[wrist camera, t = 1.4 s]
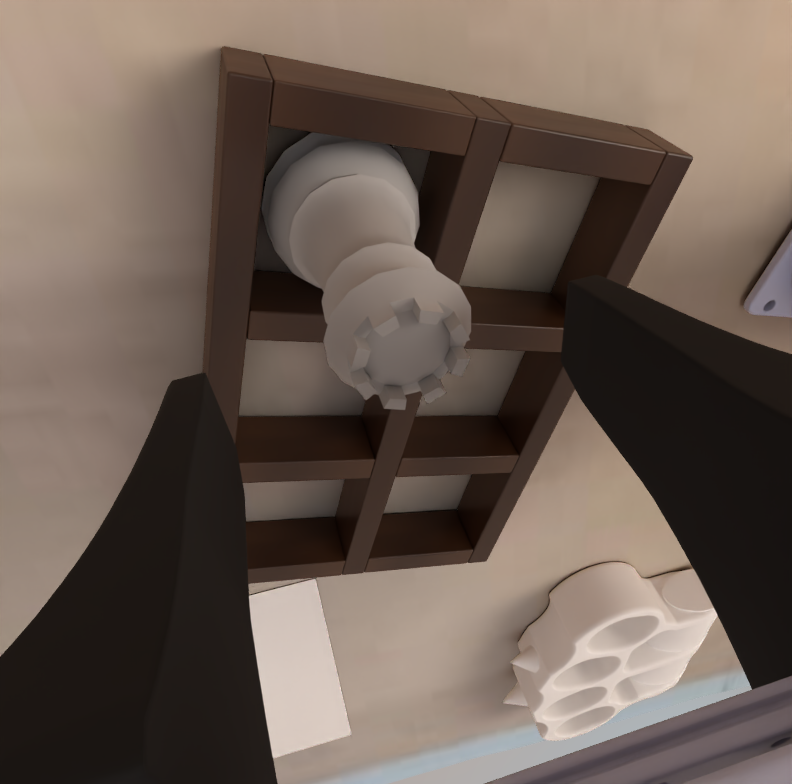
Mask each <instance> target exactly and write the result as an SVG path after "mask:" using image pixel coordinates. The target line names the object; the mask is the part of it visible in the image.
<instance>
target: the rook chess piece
mask: <svg viewBox="0 0 792 784" xmlns="http://www.w3.org/2000/svg"><path fill="white" fill-rule="evenodd" d="M261 209H262V213H263V217H264V222H265V226H266V230H267V234H268V236H269V238H270V239H271V240H272V244H273V248H274V250H275V251H276V252H277V254H278V255H279V256H280V258H281V259H282V260H283V262H284V263H285V264H286V265H287V267H288V268H289V269H290V271H291V272H293V273H294V274H295V275H296V276H298V277H300V278H301V279H303V280H305V281H307V282H309V283H310V284H312V285H314V286H316V287H318V288H322V290H323V292H324V294H323V298H322V306H323V312H324V317H325V322H326V323H327V324H328V326H327V329H326V333H325V337H324V340H323V341H324V346H325V351H326V356H327V361H328V365H329V366H330V367H331V368H332V370H333V371H334V372H335V373H336V374H337V376H338V377H339V378H340V379H341V380H342V382H343V383H345V384H347V385H350V386H352V387H354V388H356V389H357V390H358V391H359V393H360V394H361V395H362V396H363V398H364V399H365V400H367V399H369V398H370V397H371V396H372V395H374V394H376V395H379V397H380V400H381V403H382V405H383V408H384V409H398V410H405V407H406V401H407V399H406V397H405V395H407V394H411V393H415V392H419V391H421V392H422V395H423V397H424V399H425V401H426V403H427V404H429V403H430V402H432V401H434V400H436V399H437V398H439V397H441V396H443V395H444V394H446V391H445V389H444V387H443V385H442V383H441V381H440V380H441V378H442V377H443V376H444V375H445V374H446V373H447V372H448V371H450V373H451V374H453V375H456V376H460V377H462V376H463V374H464V372H465V369H466V367H467V365H468V363H469V361H470V357H469V355H468V354H467V352H466V350H465V348H464V346H465V344H466V342H467V341H469V340H470V338H469V335H470V333H471V306H470V304H469V302H468V300H467V298H466V296H465V295H464V293H463V291H462V289H461V287H460V286H459V285H458V284H456V283H455V282H453V281H452V280H450V279H449V278H447V277H446V276H444V275H443V274H441V273H440V272H438V271H436V269H435V267H434V265H433V263H432V262H431V260H430V258H429V257H427V256H426V255H424V254H423V253H421V252H420V251H418V250H417V249H415V245H414V242H415V239H416V235H417V232H418V229H419V226H420V220H419V204H418V191H417V189H416V187H415V185H414V183H413V181H412V179H411V177H410V175H409V173H408V171H407V169H406V167H405V165H404V163H403V161H402V159H401V157H400V155H399V153H398V152H397V151H395V150H394V149H393V148H391V147H390V146H389V145H388V144H384V143H378V142H371V141H365V140H359V139H352V138H346V137H340V136H333V135H327V134H321V133H314V132H313V133H311V134H309V135H308V136H306V137H305V138H303V139H301V140H300V141H298V142H297V143H295V144H294V145H292V146H291V147H289V148H288V149H286V150H285V151H284V152H283V154H282V155H281V157H280V158H279V160H278V161H277V163H276V164H275V165H274V167H273V168H272V170H271V171H270V173H269V174H268V176H267V178H266V183H265V189H264V194H263V200H262V205H261Z"/></svg>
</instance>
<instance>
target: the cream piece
mask: <svg viewBox="0 0 792 784" xmlns="http://www.w3.org/2000/svg"><path fill="white" fill-rule="evenodd" d="M249 604H250V616H251V624H252V631H253V638H254V645H255V651H256V658H257V665H258V671H259V678H260V684H261V690H262V696H263V703H264V709H265V715H266V721H267V727H268V733H269V738H270V744H271V750H272V756H273V758H276V757H279V756H283V755H286V754H289V753H293V752H296V751H299V750H303V749H306V748H309V747H312V746H316V745H319V744H322V743H326V742H329V741H332V740H336V739H339V738H342V737H345V736H349V735H352V734H351V730H350V725H349V721H348V717H347V712H346V708H345V704H344V700H343V695H342V691H341V687H340V682H339V678H338V674H337V669H336V665H335V661H334V656H333V652H332V648H331V643H330V639H329V635H328V630H327V626H326V622H325V617H324V613H323V609H322V604H321V600H320V596H319V591H318V587H317V583H316V579H312V580H308V581H304V582H300V583H297V584H293V585H289V586H285V587H281V588H277V589H273V590H269V591H265V592H262V593H258V594H254V595H250V596H249Z"/></svg>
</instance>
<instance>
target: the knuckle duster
mask: <svg viewBox="0 0 792 784" xmlns="http://www.w3.org/2000/svg"><path fill="white" fill-rule="evenodd" d="M549 597H550V604H549V606H548V608H547V610H546V611H545V612H544V613H543V615H542V616H541V617H540V618H539V619H537V620H536V621H535V622H534V623H532V624H531V625H529V626H528V627H527V629H526V631H525V632H524V634H523V635H522V637H521V638H520V640H519V641H518V647H519V650H520V652H521V653H520V654H519V655H517V656H516V657H515V658H514V659H513V660H512V661H511V662H510V663H512V664H514V665H513V670H514V673H515V675H516V678H517V680H518V683H517V684H516V685H515V686H514V688H513V689H512V690H511V691H510V693H509V694H508V695H507V696H506V698H505V699H504V700H503V701H502V703H506V704H514V705H521V706H528V707H529V709H530V712H531V714H532V717H533V719H534V721H535V723H536V726H537V728H538V731H539V733H540V735H541V737H542V738H544V739H546V740H550V741H556V740H557V741H558V740H564V739H569V738H573V737H575V736H579V735H582V734H584V733H587V732H589V731H591V730H593V729H595V728H597V727H599V726H601V725H603V724H604V723H606V722H607V721H609V720H610V719H611V718H613V717H614V716H615V715H616V714H617V713H618V712H619V711H620V710H622V709H624V708H626V707H627V706H629V705H631V704H633V703H635V702H637V701H640V700H643V699H647V698H650V697H653V696H656V695H659V694H661V693H662V692H664V691H666V690H668V689H670V688H671V687H673V686H675V685H676V684H677V682H678V681H679V679H680V677H681V676H682V674H683V672H684V671H685V669H686V667H687V666H686V665H687V663H688V662H689V660H690V659H691V657H692V656H693V654H694V653H695V652H697V650H698V648H699V647H700V645H701V643H702V642H703V640H704V638H705V637H706V635H707V633H708V630H709V628H710V627H711V625H712V624H713V622H714V620H715V619H716V617H717V613H716V611H715V609H714V607H713V605H712V603H711V601H710V599H709V597H708V595H707V593H706V591H705V589H704V587H703V585H702V583H701V582H700V580H699V578H698V576H697V574H696V572H695V570H694V569H689V570H684V571H678V572H670V573H666V574H663V575H659V576H655V577H652V578H648V579H645V578H641V577H640V576H639V574H638V573H637V571H636V570H635V569H634V568H633V567H632V566H630V565H629V564H626V563H622V562H608V563H602V564H598V565H595V566H591V567H589V568H586V569H584V570H581V571H579V572H577V573H575V574H573V575H572V576H570V577H568V578H567V579H565V580H564V581H563V582H561V583H560V584H559V585H558V586H556V587H555V588H554V589H553V590H552V591H551V592H550V594H549Z"/></svg>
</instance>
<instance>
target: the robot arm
mask: <svg viewBox="0 0 792 784" xmlns="http://www.w3.org/2000/svg"><path fill="white" fill-rule="evenodd" d="M744 309H745V310H746V311H747V312H748V313H750V314H752V315H763V316H777V317H790V318H792V229H791V231H790V232H789V234H788V235H787V237H786V238H785V240H784V241H783V243H782V245H781V246H780V248H779V249H778V251H777V252H776V254H775V255H774V257H773V258H772V260H771V261H770V263H769V265H768V266H767V268H766V269H765V271H764V272H763V274H762V275H761V277H760V278H759V280H758V281H757V283H756V284H755V286H754V288H753V289H752V291H751V292H750V294H749V295H748V297H747V298H746V300H745V302H744ZM561 363H562V365H563V367H564V369H565V371H566V373H567V375H568V376H569V378H570V380H571V382H572V384H573V386H574V388H575V389H576V391H577V393H578V395H579V397H580V398H581V400H582V402H583V403H584V404H585V406H586V407H587V409H588V410H589V411H590V413H591V414H592V415H593V417H594V418H595V419H596V421H597V422H598V424H599V425H600V426H601V428H602V429H603V430H604V432H605V433H606V434H607V436H608V437H609V438H610V440H611V441H612V442H613V444H614V445H615V446H616V448H617V449H618V450H619V452H620V453H621V454H622V456H623V457H624V458H625V460H626V461H627V462H628V464H629V465H630V466H631V468H632V469H633V470H634V472H635V473H636V474H637V476H638V477H639V478H640V480H641V481H642V482H643V484H644V485H645V487H646V488H647V490H648V491H649V493H650V494H651V496H652V497H653V499H654V500H655V502H656V504H657V505H658V507H659V509H660V510H661V512H662V514H663V516H664V517H665V519H666V521H667V522H668V524H669V526H670V527H671V529H672V531H673V533H674V534H675V536H676V538H677V539H678V541H679V543H680V545H681V547H682V549H683V550H684V552H685V554H686V556H687V558H688V559H689V561H690V563H691V565H692V567H693V569H694V570H695V572H696V574H697V576H698V578H699V580H700V582H701V583H702V585H703V587H704V589H705V591H706V593H707V595H708V597H709V599H710V601H711V603H712V605H713V607H714V609H715V611H716V613H717V615H718V617H719V619H720V621H721V623H722V625H723V627H724V629H725V631H726V633H727V635H728V638H729V640H730V642H731V644H732V646H733V648H734V650H735V653H736V655H737V657H738V659H739V661H740V663H741V666H742V668H743V670H744V672H745V674H746V676H747V679H748V681H749V683H750V685H751V688H752V690H750V691H747V692H745V693H742V694H739V695H736V696H733V697H730V698H727V699H724V700H721V701H719V702H716V703H713V704H710V705H707V706H704V707H701V708H699V709H696V710H693V711H690V712H687V713H684V714H681V715H679V716H676V717H673V718H670V719H668V720H664V721H662V722H659V723H656V724H653V725H650V726H647V727H644V728H642V729H639V730H636V731H633V732H630V733H627V734H624V735H622V736H619V737H616V738H613V739H610V740H607V741H605V742H602V743H599V744H596V745H593V746H590V747H588V748H585V749H582V750H579V751H576V752H573V753H570V754H567V755H565V756H562V757H559V758H556V759H553V760H551V761H547V762H545V763H542V764H539V765H536V766H533V767H531V768H527V769H525V770H522V771H519V772H516V773H514V774H510V775H507V776H505V777H502V778H499V779H496V780H493V781H490V782H488V783H485V784H792V354H789V353H786V352H783V351H779V350H776V349H773V348H770V347H767V346H764V345H761V344H758V343H755V342H753V341H750V340H747V339H745V338H742V337H740V336H737V335H734V334H732V333H729V332H727V331H724V330H722V329H719V328H716V327H714V326H712V325H709V324H707V323H705V322H702V321H700V320H698V319H695V318H693V317H691V316H688V315H686V314H684V313H682V312H679V311H677V310H675V309H673V308H671V307H668V306H666V305H664V304H662V303H660V302H657V301H655V300H653V299H651V298H649V297H647V296H645V295H642V294H640V293H638V292H636V291H634V290H632V289H629V288H627V287H625V286H623V285H621V284H618V283H616V282H614V281H612V280H609V279H607V278H604V277H602V276H599V275H593V276H589V277H585V278H581V279H577V280H573V281H569V282H568V287H567V297H566V308H565V319H564V329H563V340H562V350H561ZM0 784H277V779H276V773H275V767H274V761H273V756H272V750H271V744H270V738H269V733H268V727H267V721H266V715H265V709H264V703H263V696H262V690H261V684H260V678H259V671H258V665H257V658H256V651H255V645H254V638H253V631H252V624H251V616H250V604H249V588H248V564H247V540H246V517H245V497H244V488H243V482H242V476H241V470H240V465H239V459H238V453H237V448H236V445H235V443H234V440H233V438H232V435H231V433H230V431H229V428H228V426H227V423H226V421H225V419H224V416H223V414H222V411H221V409H220V406H219V404H218V402H217V399H216V397H215V394H214V392H213V390H212V387H211V385H210V382H209V380H208V378H207V375H206V373H201V374H197V375H193V376H189V377H185V378H181V379H177V380H173V381H172V382H171V383H170V385H169V386H168V389H167V391H166V394H165V396H164V399H163V401H162V404H161V406H160V409H159V411H158V414H157V416H156V419H155V421H154V423H153V426H152V428H151V430H150V433H149V435H148V437H147V439H146V441H145V444H144V446H143V448H142V450H141V452H140V454H139V456H138V458H137V461H136V463H135V465H134V467H133V469H132V471H131V473H130V475H129V477H128V479H127V480H126V482H125V484H124V486H123V488H122V490H121V491H120V493H119V495H118V497H117V499H116V501H115V502H114V504H113V506H112V508H111V510H110V511H109V513H108V515H107V517H106V518H105V520H104V521H103V523H102V525H101V526H100V528H99V530H98V531H97V533H96V534H95V536H94V538H93V539H92V541H91V542H90V544H89V545H88V547H87V548H86V550H85V551H84V553H83V554H82V556H81V557H80V559H79V560H78V561H77V563H76V564H75V566H74V567H73V568H72V570H71V571H70V572H69V574H68V575H67V577H66V578H65V579H64V581H63V582H62V583H61V585H60V586H59V587H58V588H57V590H56V591H55V592H54V594H53V595H52V596H51V597H50V599H49V600H48V601H47V603H46V604H45V605H44V607H43V608H42V609H41V610H40V612H39V613H38V614H37V615H36V617H35V618H34V619H33V620H32V621H31V623H30V624H29V625H28V626H27V627H26V628H25V629H24V631H23V632H22V633H21V634H20V635H19V636H18V638H17V639H16V640H15V641H14V642H13V643H12V645H11V646H10V647H9V648H8V649H7V650H6V651H5V652H4V653H3V654H2V655H1V657H0Z"/></svg>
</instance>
